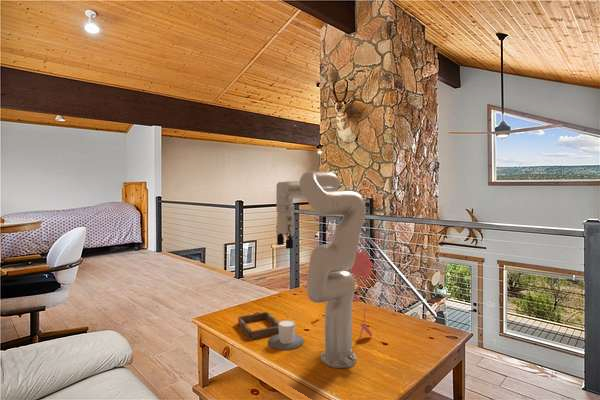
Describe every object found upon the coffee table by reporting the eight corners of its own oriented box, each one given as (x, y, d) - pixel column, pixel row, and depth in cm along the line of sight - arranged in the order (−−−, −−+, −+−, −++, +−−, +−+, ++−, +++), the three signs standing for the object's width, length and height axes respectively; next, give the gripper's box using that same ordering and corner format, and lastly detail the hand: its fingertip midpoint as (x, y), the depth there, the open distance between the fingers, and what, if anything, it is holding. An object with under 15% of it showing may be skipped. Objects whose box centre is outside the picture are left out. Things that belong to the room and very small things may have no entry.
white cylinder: (274, 342, 133) (274, 324, 132) (284, 335, 139) (284, 318, 138) (289, 346, 129) (289, 328, 129) (298, 339, 135) (298, 321, 135)
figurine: (375, 348, 128) (376, 256, 127) (326, 327, 147) (327, 247, 147) (397, 337, 138) (399, 252, 138) (349, 319, 158) (350, 244, 157)
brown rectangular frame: (283, 333, 142) (283, 326, 142) (250, 340, 136) (250, 332, 135) (267, 317, 158) (267, 311, 158) (237, 323, 152) (237, 317, 152)
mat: (309, 345, 131) (309, 344, 131) (276, 353, 125) (276, 352, 125) (294, 331, 143) (294, 330, 143) (263, 338, 137) (263, 337, 137)
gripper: (300, 210, 147) (300, 249, 148) (284, 207, 162) (284, 243, 163) (285, 210, 144) (285, 250, 144) (269, 208, 159) (270, 244, 160)
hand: (284, 246), depth 154 cm, fingers open, 9 cm apart
